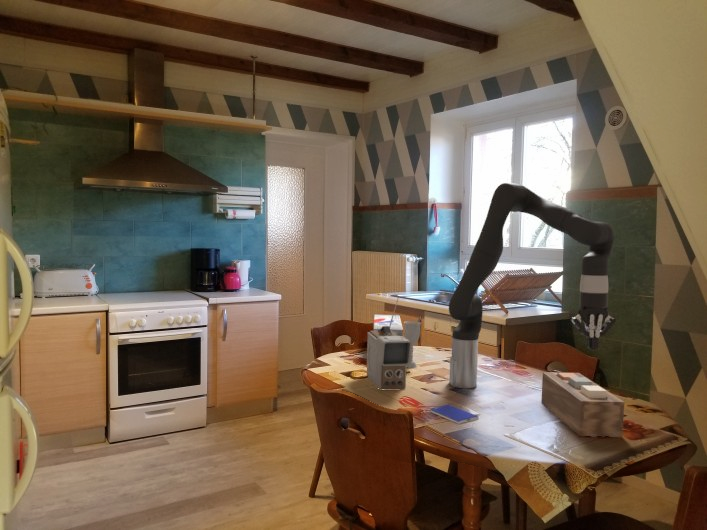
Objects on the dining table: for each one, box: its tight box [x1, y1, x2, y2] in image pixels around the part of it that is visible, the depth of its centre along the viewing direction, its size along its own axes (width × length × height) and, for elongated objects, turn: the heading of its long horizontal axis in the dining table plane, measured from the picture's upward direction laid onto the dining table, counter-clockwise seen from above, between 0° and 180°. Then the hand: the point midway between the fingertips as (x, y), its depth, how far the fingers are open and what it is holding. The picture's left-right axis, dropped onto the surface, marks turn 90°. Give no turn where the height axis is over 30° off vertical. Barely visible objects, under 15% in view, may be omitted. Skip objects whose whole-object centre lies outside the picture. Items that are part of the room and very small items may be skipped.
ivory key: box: [581, 385, 606, 398], centre depth 161 cm, size 5×5×5 cm
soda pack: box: [372, 314, 404, 337], centre depth 256 cm, size 41×13×14 cm, turn 177°
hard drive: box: [429, 403, 479, 425], centre depth 171 cm, size 2×8×12 cm
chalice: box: [403, 320, 422, 369], centre depth 227 cm, size 7×7×18 cm
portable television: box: [366, 297, 412, 390], centre depth 202 cm, size 12×24×30 cm, turn 12°
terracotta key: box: [557, 372, 578, 380], centre depth 179 cm, size 5×5×5 cm
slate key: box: [569, 376, 593, 389], centre depth 170 cm, size 5×5×5 cm
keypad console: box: [540, 371, 625, 438], centre depth 170 cm, size 12×30×10 cm, turn 1°
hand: (592, 349), depth 164 cm, fingers closed
